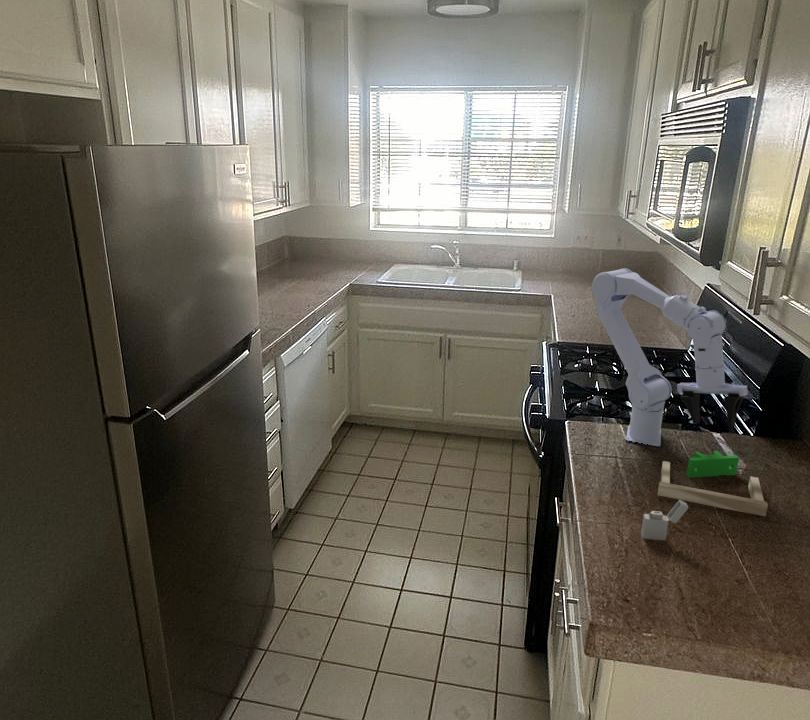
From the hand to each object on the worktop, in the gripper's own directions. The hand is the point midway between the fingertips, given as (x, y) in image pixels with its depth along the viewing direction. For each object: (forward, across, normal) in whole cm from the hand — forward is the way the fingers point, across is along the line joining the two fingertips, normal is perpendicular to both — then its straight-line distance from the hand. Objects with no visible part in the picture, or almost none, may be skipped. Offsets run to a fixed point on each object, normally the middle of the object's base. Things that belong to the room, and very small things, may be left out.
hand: (713, 424), depth 138 cm
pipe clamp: (+11, 0, +4) cm, 11 cm away
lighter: (+12, -4, +35) cm, 37 cm away
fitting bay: (+11, -3, +11) cm, 16 cm away
